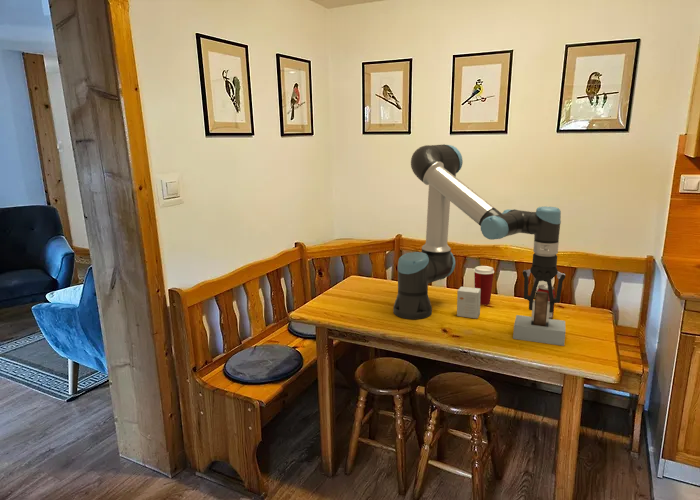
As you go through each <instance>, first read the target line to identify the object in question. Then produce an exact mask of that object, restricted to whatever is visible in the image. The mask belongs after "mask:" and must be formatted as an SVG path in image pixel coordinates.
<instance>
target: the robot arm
mask: <svg viewBox="0 0 700 500" xmlns="http://www.w3.org/2000/svg"><path fill="white" fill-rule="evenodd" d="M463 162H464V161H463V156H462V153H461V152H460V150H459V149H458V148H457V147H456V146H454V145H452V144H445V143H444V144H430V145H428V144H427V145H426V144H425V145H423V146H420V147H418V148H417V149H416V150H415V151H414V152H413V153H412V156H411V159H410V168H411V171H412V173H413V174H414V176H415V177H416V178H417V179H418V180H420V181H421V182H422V183H423V184H424V185H425V186H428V193H427V194H428V195H427V210H426V211H427V215H426V231H425V232H426V233H425V243H424V244H423V245H421V251H414V252H413V251H412V252H407V253H404V254H402V255H401V256H400V257H398V262H397V295H396V298H395V301H394V303H393V309H392V310H393V314H394V315H395V316H397V317H398V318H403V319H407V320H422V319H426V318H428V317H430V316H431V315H432V314H433V313H432V312H433V308H432V303H431V300H430V296H429V292H428V291H429V289H428V288H429V284H430V283H433V282H436V281H441V280H444V279H446V278H447V277H449V276H451V275H452V273H454V270H455V268H456V258H455V256H454V253H452V251H451V250H452V248H451V247H450V245H448V239H449V238H448V237H449V226H450V225H449V222H450V209H451V208H450V207H451V203H452V204H453V205H454V206H455V207H457V208H458V209H459V210H461V212H463V213H464V214H465V215H466V216H468V217H469V218H470V219H471V220H473V221H474V222H475V223H476V224H478V225H479V226H480V231H481V234H482V235H483V237H484V238H486V239H488V240H501V239H504V238H506V237H509V236H513V235H516V234H527V235H533V236H534V237H533V250H532V251H533V254H532V264H531V267H530V268H529V269H523V270H522V275H523V276H522V277H523V280H524V281H523V284H524V285H523V299H524V300H527V301H528V311H531V317H532V319H531V320H532V321H534V311H535V296H536V290H537V289H538V286H539V283H540V282H546V285H548V292H549V299H550V302H548V304H547V316H546V322H548V321H549V312H550V313H552V312H553V306H554V307H555V304H560V302H561V296H562V289H563V288H562V287H563V282H564V281H565V279H566V273H565V272H560V271H559V269H558V268H557V267H558V266H557V265H558V264H557V263H558V255H557V254H558V252H559V243H560V242H559V241H560V240H559V239H560V230H561V229H560V228H561V224H562V220H561V214H562V212H561V209H560V208H558V207H556V206H547V205H546V206H539V207H537V208H536V210H535V211H529V210H527V211H526V210H521V209H520V210H519V209H504V210H503V212H501V211H499V210H498V209H497V208H495V207H494V206H493V204H491V203H489V202H488V201H487V200H485V198H483V197H482V196H480V195H479V194H478V193H477V192H476V191H474V190H473V189H471V188H470V187H469V186H468V185H466V184H465V183H464V182H463V181H461V180H460V178H458V177H456V176H457V174H458V173H459V171H460V170H462V167H463ZM531 274H532V276H533V277H534V278H535V280H534V283H533V286H532V290H531V292H530V295H529V277H530V275H531ZM556 276H557V279H558V281H557V288H556V294H555V298H554V297H553V290H552V286H553V285H552V280H553V279H554V278H555V277H556Z"/></svg>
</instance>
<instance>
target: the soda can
mask: <svg viewBox="0 0 700 500" xmlns="http://www.w3.org/2000/svg"><path fill="white" fill-rule="evenodd" d="M552 290H553V297H554V298H556V291H555V287H554V286H553V285H552ZM539 291H542V292H547V293H548V302H550V299H549V292H548V285H547V284H538V286H537V289H536V292H539ZM554 314H555V305H554V306H553V312H552V313H550V312H549V319H552V318H554Z"/></svg>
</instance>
